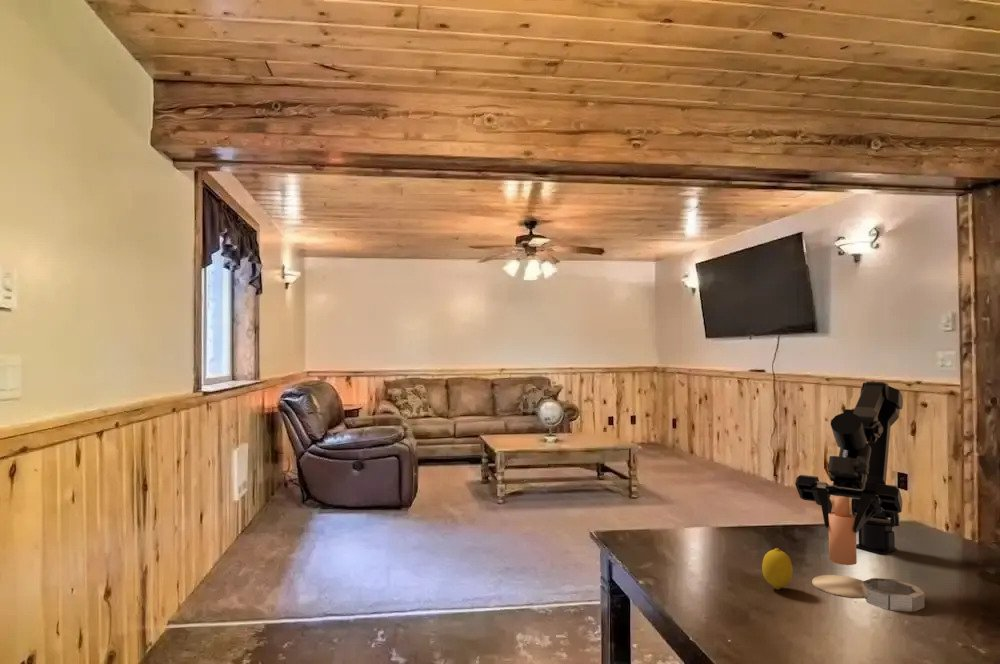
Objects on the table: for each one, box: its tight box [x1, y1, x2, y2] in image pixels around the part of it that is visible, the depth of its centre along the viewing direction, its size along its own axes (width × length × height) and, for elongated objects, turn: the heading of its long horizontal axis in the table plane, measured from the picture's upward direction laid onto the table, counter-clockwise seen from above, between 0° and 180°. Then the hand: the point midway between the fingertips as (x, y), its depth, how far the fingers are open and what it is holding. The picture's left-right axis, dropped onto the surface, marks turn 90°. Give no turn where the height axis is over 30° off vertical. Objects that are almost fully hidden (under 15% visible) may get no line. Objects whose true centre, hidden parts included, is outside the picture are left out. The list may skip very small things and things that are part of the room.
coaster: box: [811, 574, 864, 598], centre depth 130 cm, size 11×11×1 cm
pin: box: [828, 496, 858, 566], centre depth 130 cm, size 5×5×12 cm
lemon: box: [761, 547, 794, 590], centre depth 129 cm, size 6×6×8 cm
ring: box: [862, 577, 926, 613], centre depth 122 cm, size 9×9×2 cm
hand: (840, 529), depth 129 cm, fingers closed on pin, 5 cm apart
